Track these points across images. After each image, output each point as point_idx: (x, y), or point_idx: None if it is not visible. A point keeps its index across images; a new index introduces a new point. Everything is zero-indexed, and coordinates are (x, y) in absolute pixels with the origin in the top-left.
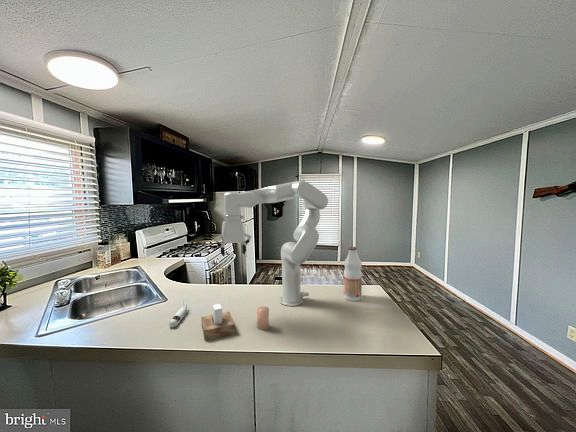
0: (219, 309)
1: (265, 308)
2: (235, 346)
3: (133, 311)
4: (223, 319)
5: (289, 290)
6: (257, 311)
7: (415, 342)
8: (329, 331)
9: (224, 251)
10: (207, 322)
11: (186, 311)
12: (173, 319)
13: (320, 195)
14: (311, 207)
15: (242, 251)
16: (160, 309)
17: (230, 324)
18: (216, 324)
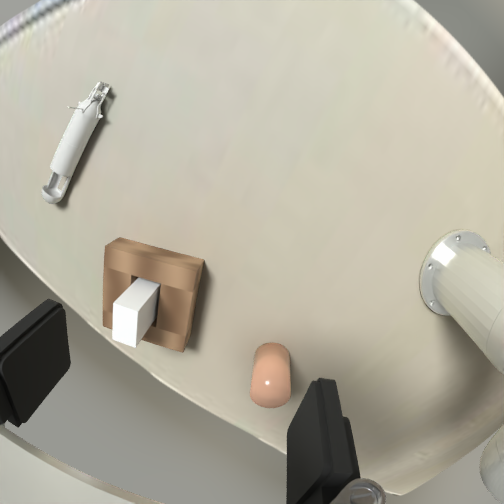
0: (128, 344)
1: (280, 395)
2: (172, 376)
3: (15, 39)
4: (160, 309)
5: (455, 319)
6: (250, 390)
7: (418, 481)
8: (373, 434)
9: (44, 397)
10: (115, 293)
11: (94, 124)
12: (46, 194)
13: None
14: None
15: (307, 410)
16: (56, 49)
17: (170, 347)
18: None
